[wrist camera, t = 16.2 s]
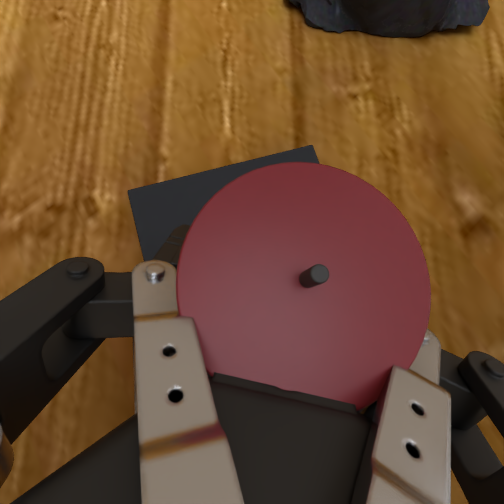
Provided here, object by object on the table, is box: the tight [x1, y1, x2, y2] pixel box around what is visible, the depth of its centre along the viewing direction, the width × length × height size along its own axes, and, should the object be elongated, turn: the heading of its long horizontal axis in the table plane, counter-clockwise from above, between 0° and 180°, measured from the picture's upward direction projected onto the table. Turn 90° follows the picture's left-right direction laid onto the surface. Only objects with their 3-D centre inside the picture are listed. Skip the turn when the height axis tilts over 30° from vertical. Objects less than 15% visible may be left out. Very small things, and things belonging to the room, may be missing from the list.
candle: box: [176, 162, 431, 411], centre depth 11 cm, size 6×6×11 cm
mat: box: [128, 145, 319, 377], centre depth 17 cm, size 12×17×1 cm
